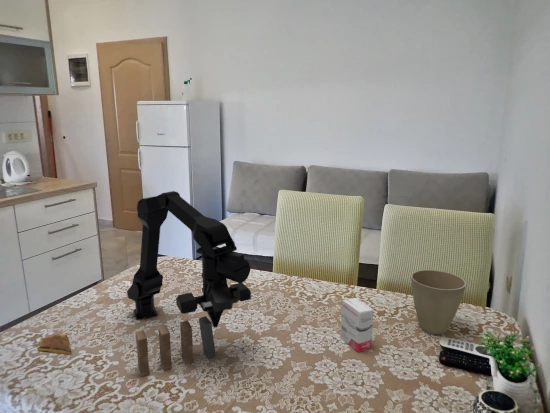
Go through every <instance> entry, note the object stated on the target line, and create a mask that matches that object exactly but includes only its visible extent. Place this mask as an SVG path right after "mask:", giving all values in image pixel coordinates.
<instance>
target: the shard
mask: <svg viewBox="0 0 550 413" xmlns="http://www.w3.org/2000/svg"><path fill="white" fill-rule="evenodd" d="M39 341H40V344H39V346H38V347H37V351H38V352H49V353H55V354H59V355H60V354H61V355H72V348H71V346H70V338H69V336H68V334H67V333H65V334H63V333H61V334H55V335H51V336H46V337H43V338H40V340H39Z"/></svg>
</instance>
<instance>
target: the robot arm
mask: <svg viewBox="0 0 550 413" xmlns="http://www.w3.org/2000/svg"><path fill="white" fill-rule="evenodd" d="M136 211H137V218H138V220H139V221H140V222H141V224H142V230H141V231H142V233H141V234H142V235H141V249H140V258H139V259H140V261H139V268H138V269H137V270H136V272H135V273H134V275H133V279H132V282H131V283H132V285H130V287H129V288H128V290H126V294H127V297H128V299H129V300H131V301H133V302H134V304H135V307H134V309H133V310H132V312H133V314H134V316H135V319H136V320H142V319H146V318H151V317H156V316H158V312H157V309H156V307H155V295H159V294H160V292H161V288H162V287H163V278H164V276H163V274H162V273H161V272H160V271H159V270H158V260H159V248H160V246H159V245H160V237H161V236H160V235H161V227H162V225H163V224H164V222H165V221H166V220H167V218H168V213H171V214H172V215H173V216H174V217H175V218H176V219H177V220H179V221H180V222H181V223H182V224H183V225H184V226H186V227H187V228H188V229H189V230H190V231H191V233H192V238H193V240H194V241H195V242H196V243H197V245H198V246H199V247H198V248H197V249H196V250H195V251H196V253H197V254H200V255H201V265H202V266H201V271H202V272H200V274H201V278H202V287H201V291H202V292H201V293H202V295H197V296H195V295H194V294H193V293H192V292H188V293H186V292H185V293H181V294H178V295H177V296H176V298H175V302H176V304H175V305H176V306H177V308H178V310H179V312H180V313H181V314H189V313H194V312H195V311H196V310H198V305H199V307H200V308H201V310H202V311H203V312H206V313H207V315H208V319H209V320H210V322H211V324H212V328H214V329H215V328H218V326H219V323H220V320H221V317H222V316H223V313H224V311H225V310H228V311H229V310H231V309H233V305H234V304H237V303H238V302H245V301H249V300H250V301H251V299H252V292H251V291H252V290H251V289H250V288H249V287H248V286H247V285H245V283H244V282H246V280H247V279H248V278H249V276H250V274H251V265H250V262H249V261H248V260H247V259H245V254H244V253H243V254H242V253H238V252H235V251H237V249H238V248H237V246H236V244H235V241H234V239H233V238H232V236H231V234H230V232H229V229H228V227H227V225H225V224H224V223H223V222H221V221H219V220H217V219H215V218H212V217H207V216H205V215H204V214H202V213H201V212H200V211H198V210H197V209H196V208H195V207H194V206H192V204H190V203H189V202H188V201H186V200H185V199H184V198H183V197H182V196H181V195H180V193H179V192H177V191H174V190H172V191H166V192H162V193H160V194H158V195H156V196H149V197H144V198H140V199H139V200H138V202H137V205H136ZM222 245H223V246H222ZM219 246H221V247H219ZM228 280H229V281H232V282H235V283H234V284H230V285H228Z"/></svg>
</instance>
